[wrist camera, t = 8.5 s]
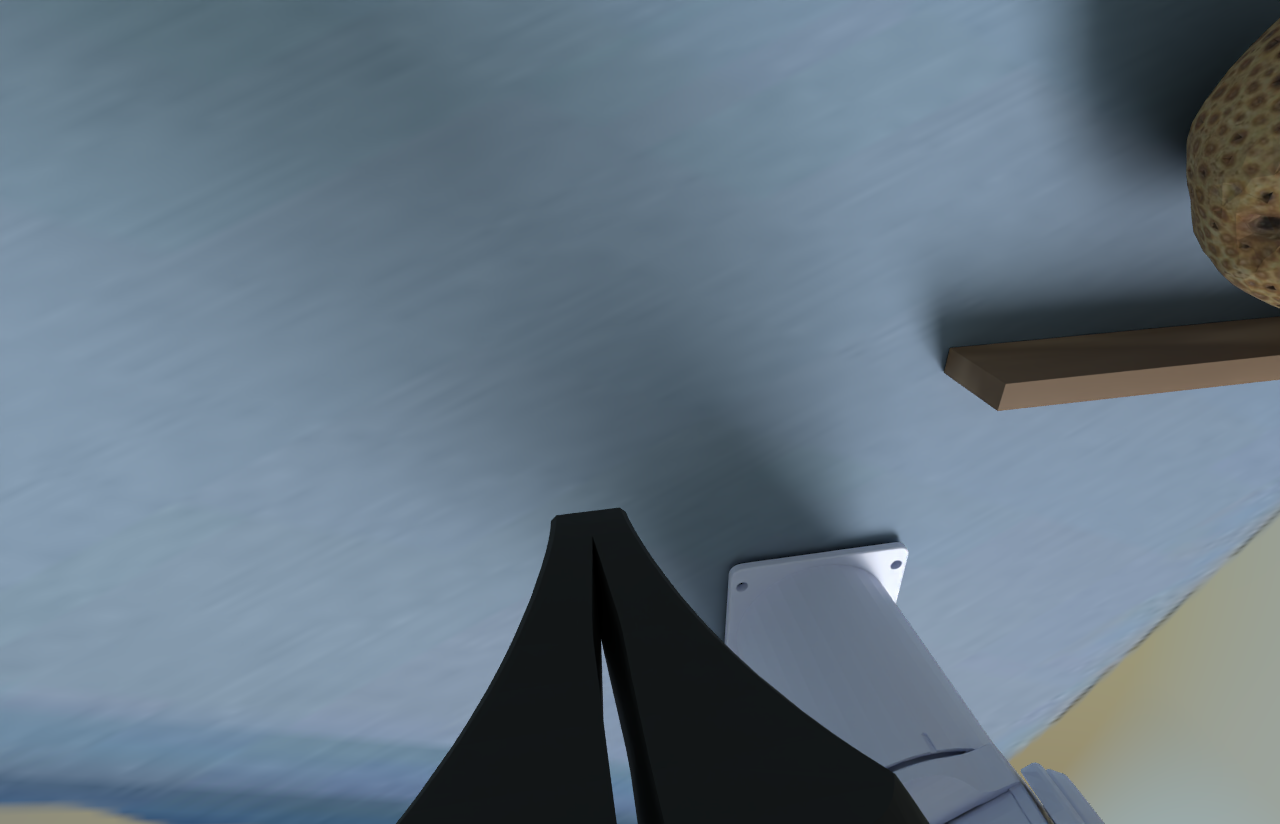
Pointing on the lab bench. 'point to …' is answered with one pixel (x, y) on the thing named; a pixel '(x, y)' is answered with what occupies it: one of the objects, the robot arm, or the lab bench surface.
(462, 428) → the lab bench surface
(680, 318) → the lab bench surface
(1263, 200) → the natural sponge
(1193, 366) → the wooden u-shaped fence
